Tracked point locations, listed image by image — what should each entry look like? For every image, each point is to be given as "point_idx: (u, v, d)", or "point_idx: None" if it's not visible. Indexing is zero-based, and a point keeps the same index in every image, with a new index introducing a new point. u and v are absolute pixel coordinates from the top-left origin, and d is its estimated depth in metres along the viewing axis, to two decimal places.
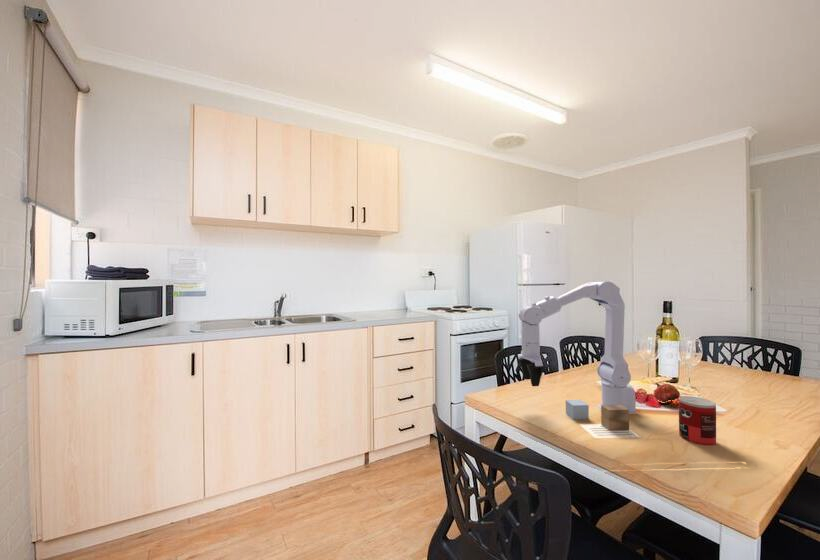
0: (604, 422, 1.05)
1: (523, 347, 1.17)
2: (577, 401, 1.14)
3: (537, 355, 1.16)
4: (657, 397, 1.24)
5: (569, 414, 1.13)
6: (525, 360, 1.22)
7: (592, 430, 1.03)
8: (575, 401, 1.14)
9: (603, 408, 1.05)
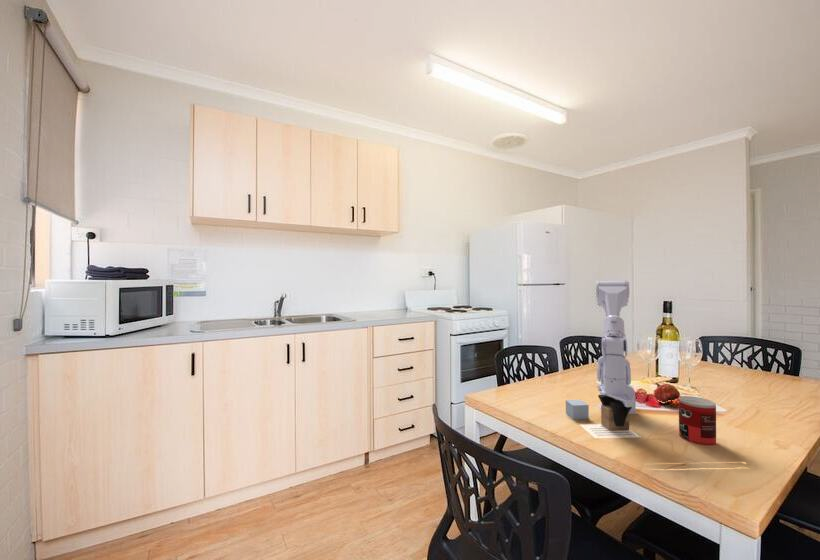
0: (604, 422, 1.05)
1: (607, 383, 1.04)
2: (577, 401, 1.14)
3: (624, 393, 1.02)
4: (657, 397, 1.24)
5: (569, 414, 1.13)
6: (608, 398, 1.07)
7: (592, 430, 1.03)
8: (575, 401, 1.14)
9: (603, 408, 1.05)
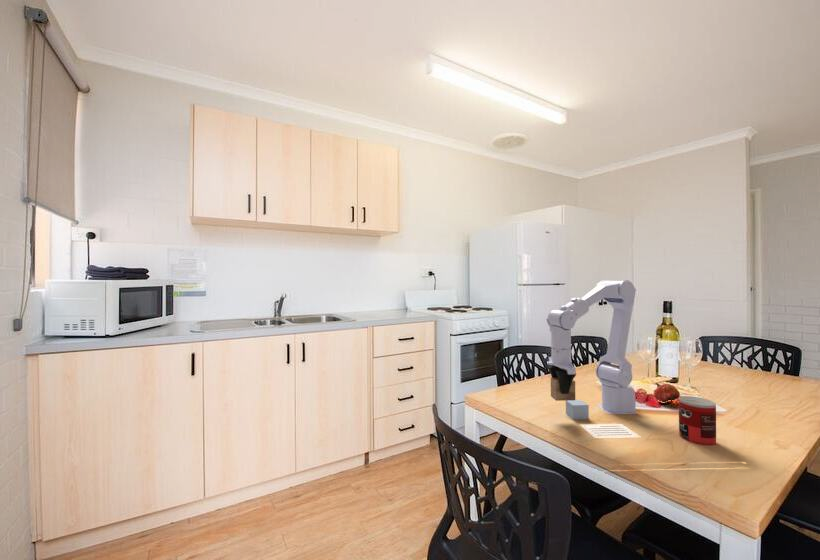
0: (553, 393, 1.11)
1: (553, 353, 1.10)
2: (577, 401, 1.14)
3: (569, 362, 1.08)
4: (657, 397, 1.24)
5: (569, 414, 1.13)
6: (556, 368, 1.13)
7: (592, 430, 1.03)
8: (575, 401, 1.14)
9: (552, 380, 1.12)
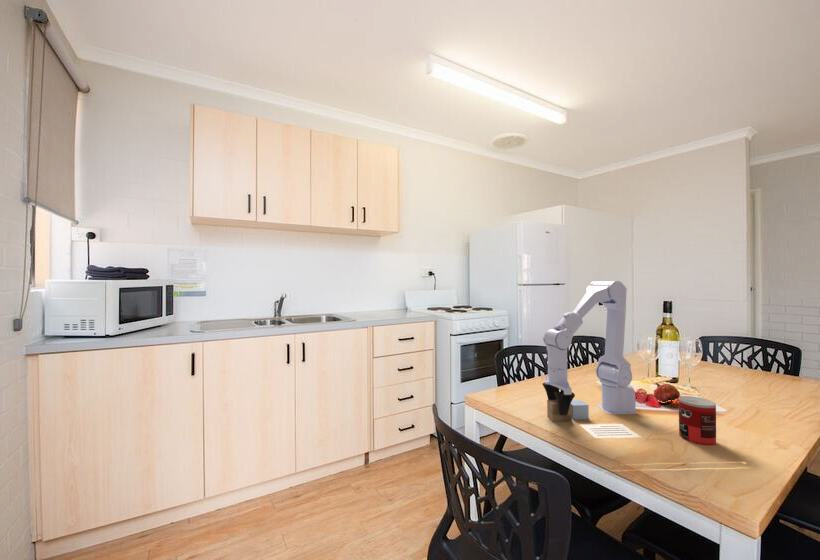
0: (549, 416, 1.12)
1: (550, 373, 1.10)
2: (577, 401, 1.14)
3: (565, 381, 1.09)
4: (657, 397, 1.24)
5: None
6: (551, 385, 1.15)
7: (592, 430, 1.03)
8: (575, 401, 1.14)
9: (548, 402, 1.12)
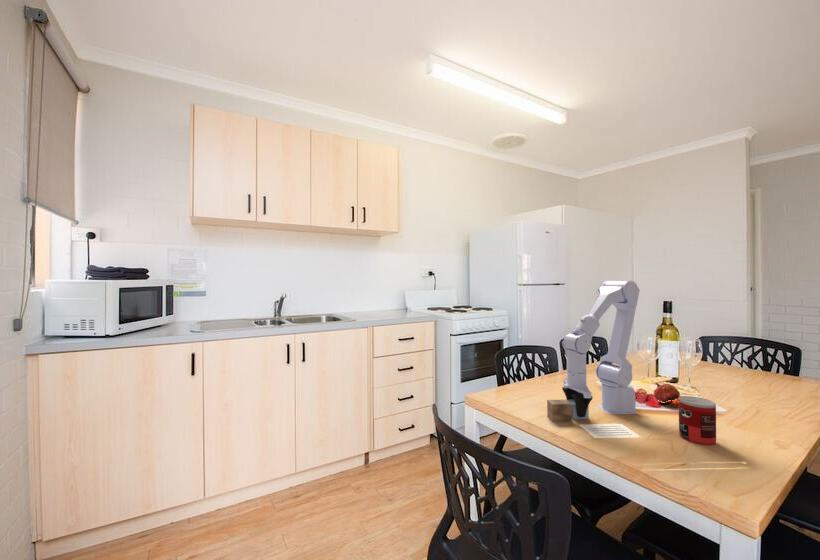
0: (549, 416, 1.12)
1: (569, 376, 1.13)
2: None
3: (584, 385, 1.11)
4: (657, 397, 1.24)
5: None
6: (571, 390, 1.16)
7: (592, 430, 1.03)
8: None
9: (548, 402, 1.12)
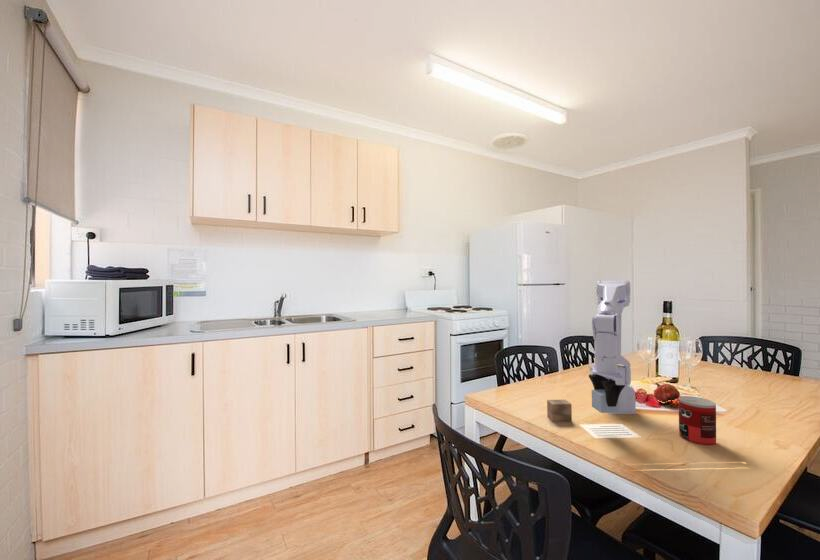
0: (549, 416, 1.12)
1: (597, 362, 1.01)
2: None
3: (615, 371, 0.99)
4: (657, 397, 1.24)
5: (596, 405, 1.02)
6: (599, 377, 1.04)
7: (592, 430, 1.03)
8: (603, 391, 1.03)
9: (548, 403, 1.12)
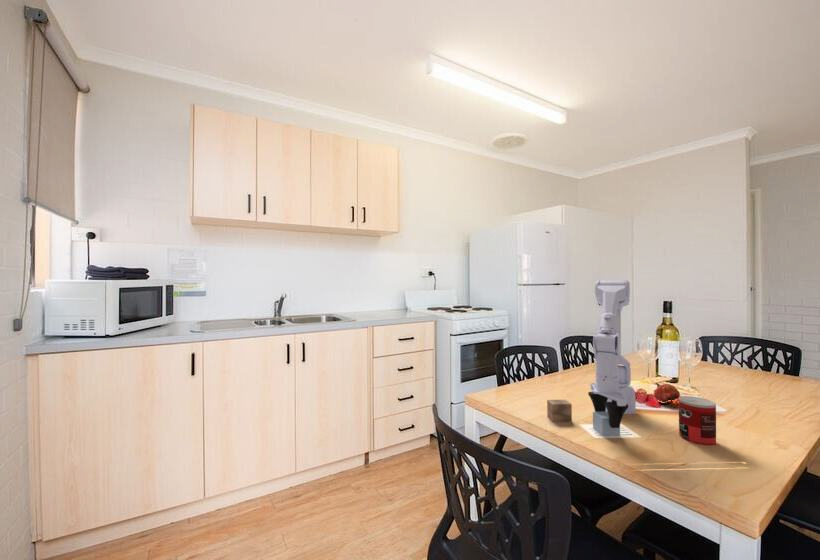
0: (549, 416, 1.12)
1: (599, 381, 1.01)
2: (606, 413, 1.02)
3: (616, 391, 0.99)
4: (657, 397, 1.24)
5: (597, 428, 1.01)
6: (598, 395, 1.05)
7: (592, 430, 1.03)
8: (604, 413, 1.02)
9: (548, 402, 1.12)
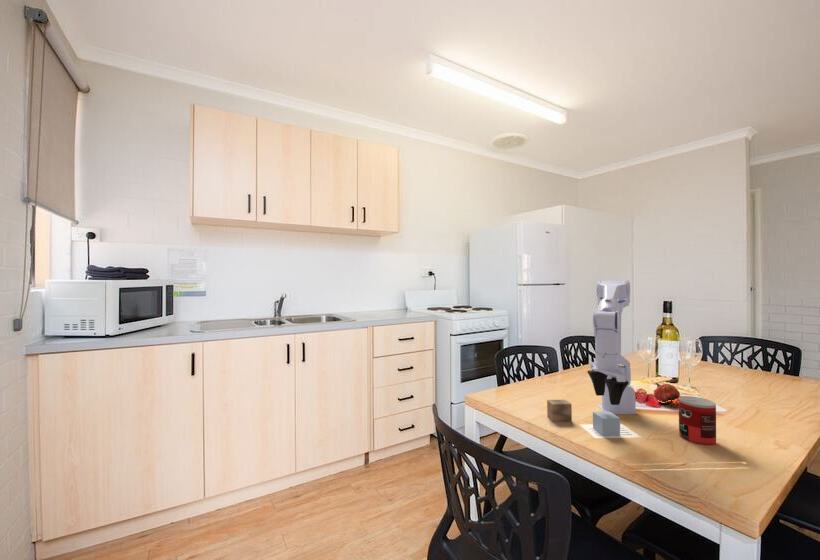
0: (549, 416, 1.12)
1: (598, 359, 1.01)
2: (606, 413, 1.02)
3: (616, 368, 0.99)
4: (657, 397, 1.24)
5: (597, 428, 1.01)
6: (597, 373, 1.05)
7: (592, 430, 1.03)
8: (604, 413, 1.02)
9: (548, 403, 1.12)
